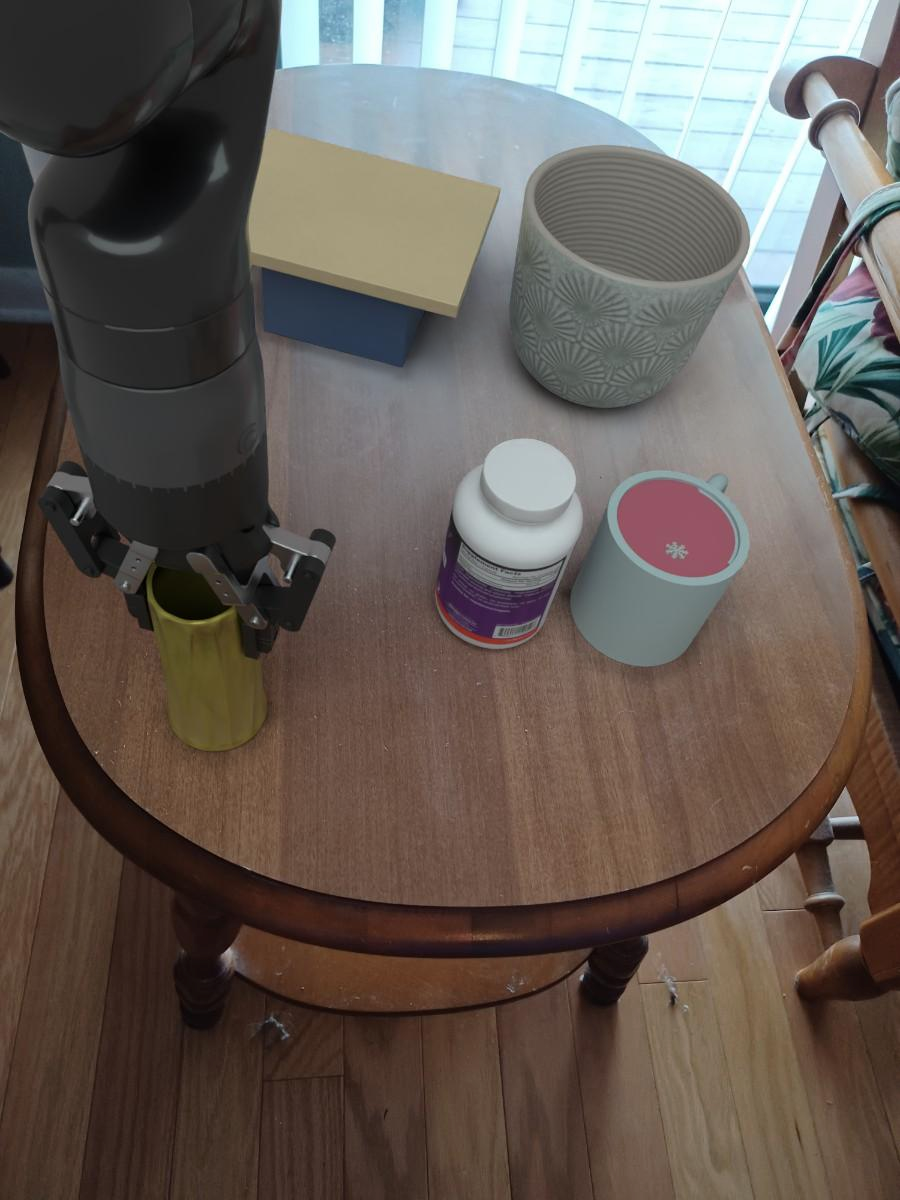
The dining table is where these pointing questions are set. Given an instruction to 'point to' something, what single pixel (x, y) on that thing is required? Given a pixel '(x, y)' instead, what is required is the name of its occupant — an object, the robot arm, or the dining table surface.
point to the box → (361, 244)
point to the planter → (619, 271)
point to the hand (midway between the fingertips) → (205, 630)
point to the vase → (204, 663)
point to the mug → (658, 566)
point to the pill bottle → (508, 544)
